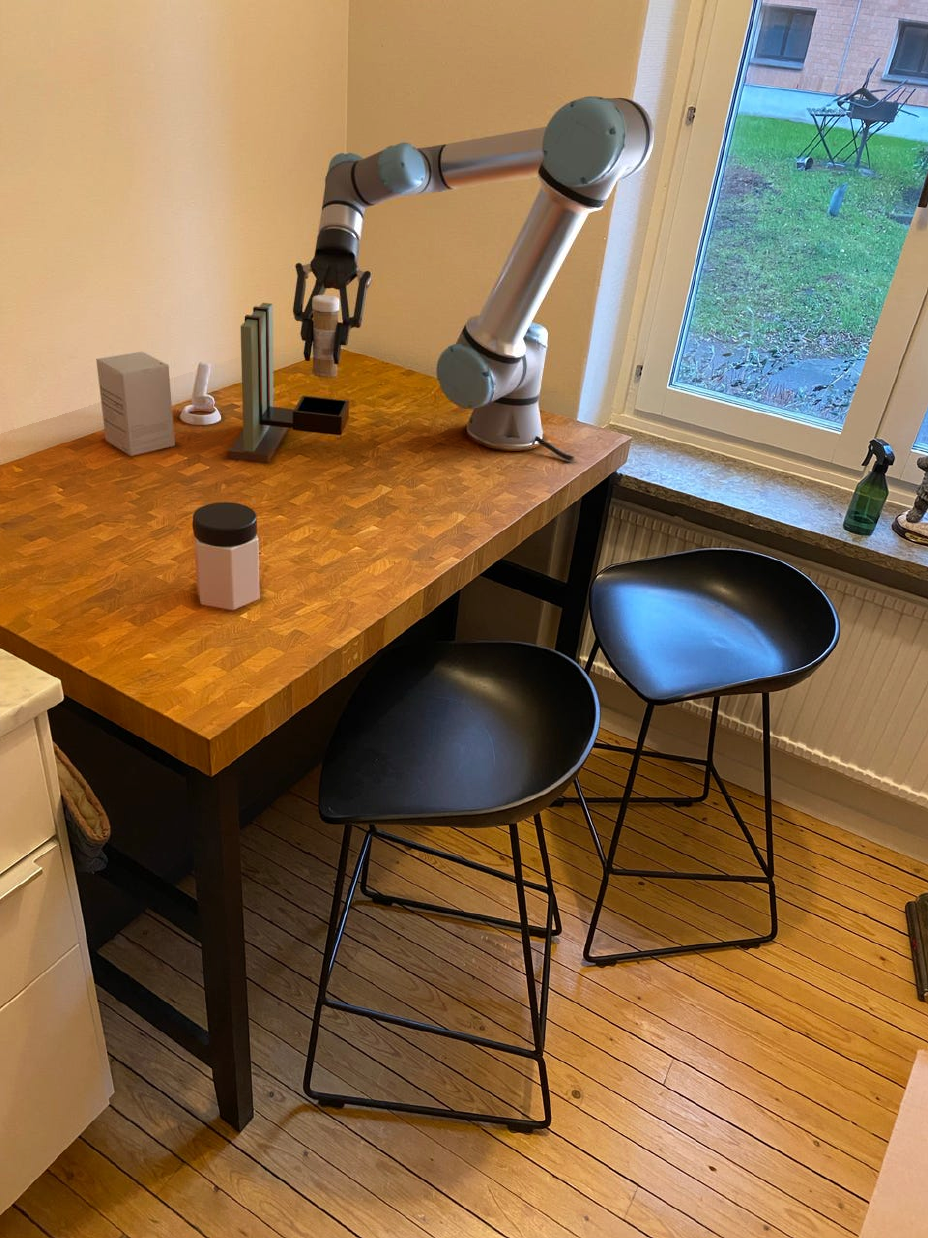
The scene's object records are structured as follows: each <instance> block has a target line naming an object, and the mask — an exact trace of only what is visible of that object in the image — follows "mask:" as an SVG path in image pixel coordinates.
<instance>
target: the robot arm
mask: <svg viewBox="0 0 928 1238" xmlns="http://www.w3.org/2000/svg"><path fill="white" fill-rule="evenodd" d="M654 143H655V131H654V125H653V122H652V119H651V117H650V115H649V113H648V112H647V110H646V109H645V108H644V107H643V106H642V105H641V104H639V103H638V102H636V101H634V100H632V99H629V98H625V97H602V96H596V95H595V96H592V95H591V96H590V95H589V96H583V97H580V98H577V99H574V100H572V101H569V102H568V103H565V104H564V105H563V106H561V107H560V108H559V109H558V110H557V111H556V112H555V113H554V114H553V115H552V116H551V118H550V119H549V121H548V123H547V125H546V126H541V127H536V128H531V129H524V130H519V131H513V132H507V133H502V134H496V135H490V136H485V137H479V138H473V139H466V140H461V141H456V142H451V143H444V144H437V145H432V146H424V147H415V146H413V145H412V144H411V143H409V142H404V141H403V142H399V143H397V144H395V145H389V146H386V148H384V149H382V150H380V151H378V152H376V153H374V154H371V155H369V156H367V157H365V158H363V157H362V156H361V155H358V154H357V153H353V152H348V153H345V152H340V153H337V154H336V155H334V156H333V157H332V158H331V159H330V161H329V163H328V169H327V173H326V175H325V178H324V190H323V198H322V205H321V211H320V216H319V217H320V218H319V222H318V223H319V224H318V230H317V236H316V243H315V250H314V256H313V258H312V259H311V261H310V262H309V263H307V264H302V263H301V262H297V263H296V264H294V265H295V271H296V276H297V277H296V285H295V292H294V298H293V299H294V300H293V305H292V314H293V318H294V321H296V322H301V326H300V339H301V341H302V342H304V346H303V357H304V361H305V362H310V361H311V355H312V350H313V308H312V300H313V297H314V296H317V295H325V294H326V291H327V289H334V290H337V291H339V302H340V308H341V309H340V311H341V320H342V322H339V321H338V324H337V331H336V338H335V345H334V352H333V360H334V364H337V365H340V358H341V351H342V346H344V347H345V346H347V345H348V344H349V339H350V331H351V329H353V328H355V329H359V328H361V327H362V323H363V322H362V321H363V316H364V310H365V303H366V297H367V291H368V289H370V288H369V287H370V286H371V284H372V274H371V271H370V270H366V271H363V270H361V269H359V266H358V258H359V253H360V252H359V251H360V243H361V238H362V231H363V224H364V215H365V210H366V209H368V208H369V207H372V206H375V205H378V204H380V203H382V202H385V201H388V200H391V199H393V198H397V197H399V198H400V197H406V196H415V195H420V194H430V193H443V192H445V191H451V190H456V189H462V188H470V187H479V186H485V185H492V184H499V183H506V182H513V181H520V180H527V179H529V180H530V179H535V178H538V180H539V184H540V188H539V191H538V193H537V194H536V197H535V199H534V201H533V203H532V205H531V207H530V209H529V211H528V213H527V216H526V217H525V219H524V221H523V223H522V225H521V228H520V229H519V231H518V234H517V236H516V238H515V240H514V242H513V244H512V246H511V249H510V251H509V253H508V255H507V256H506V258H505V261H504V263H503V265H502V267H501V269H500V271H499V273H498V276H497V278H496V280H495V282H494V284H493V286H492V288H491V290H490V292H489V294H488V296H487V298H486V299H485V302H484V304H483V306H482V308H481V310H480V313H479V314H477V315H474V316H471V317H469V318H468V319H467V320H466V322H465V323H464V326H463V328H462V329H461V332H460V334H459V336H458V338H457V340H456V342H455V343H454V344H450V345H448V346H447V348H445V349H444V350H443V351H442V352H441V353H440V355H439V357H438V359H437V362H436V369H435V371H436V372H435V373H436V379H437V381H438V383H439V387H440V390H441V391H442V393H443V394H444V396H445V398H447V399H448V401H449V402H451V403H452V404H454V405H455V406H457V407H459V408H461V409H465V410H472V412H471V415H470V417H469V419H468V421H467V424H466V435H467V437H468V438H469V439H470V440H471V441H473V442H474V443H476V444H478V445H480V446H483V447H486V448H490V449H494V450H499V451H506V452H521V451H522V452H523V451H529V450H533V449H535V448H538V447H539V446H543V447H545V448H546V449H548V450H549V451H550V452H552V453H553V454H555V455H556V456H558V457H561V459H564V460H566V461H570V462H574V460H575V456H574V455H570V454H567V453H565V452H564V451H562V450H560V449H558V448H557V447H555V446H554V445H553V444H551V443H549V442H548V441H546V440H545V439H543V436H544V435H543V433H544V430H543V426H542V419H541V413H540V407H539V400H540V394H541V387H542V380H543V374H544V367H545V361H546V357H547V355H546V354H547V349H548V347H549V346H548V337H549V336H548V335H549V334H548V330H547V328H546V327H544V326H542V325H541V324H539V323H536V322H534V321H533V320H534V318H535V316H536V314H537V312H538V310H539V308H540V306H541V304H542V303H543V300H544V299H545V298H546V295H547V293H548V291H549V289H550V288H551V285H552V284H553V281H554V280H555V278H556V276H557V274H558V272H559V270H560V268H561V266H562V265H563V263H564V261H565V259H566V257H567V255H568V253H569V251H570V249H571V248H572V246H573V243H574V242H575V240H576V238H577V237H578V234H579V232H580V231H581V228H582V227H583V225H584V223H585V221H586V219H587V217H588V215H589V214H590V213H593V212H596V211H600V210H602V208H604V206H605V203H606V202H607V200H608V198H609V196H610V194H611V193H612V191H613V189H614V187H615V185H616V183H617V182H618V180H619V181H620V180H623V179H627V178H629V177H631V176H633V175H635V174H636V173H637V172H639V171H640V170H641V169H642V168H643V167H644V165H645V164H646V163H647V161H648V160H649V158H650V156H651V153H652V151H653V148H654V147H653V146H654ZM311 272H312V274H313V276H314V277H315V283H314V286H313V289H312V292H311V293H310V295H309V298H308V301H307V303H306V305H305V308H304V303H305V296H306V295H305V294H306V288H307V280H308V279H309V277H310V273H311ZM356 278H357V284H358V286H357V291H356V298H355V303H354V304H355V305H354V309H353V315H352V316H351V317H350V309H349V300H348V299H349V298H348V288H347V287H348V286H349V284H351V283H352V282H353V281H354V280H355V279H356ZM303 310H304V311H303ZM532 321H533V322H532Z"/></svg>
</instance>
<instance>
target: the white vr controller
mask: <svg viewBox="0 0 928 1238" xmlns="http://www.w3.org/2000/svg"><path fill="white" fill-rule="evenodd" d="M211 369H212V367H211V364H210V363H207V362H203V361H202V362H199V363H198V366H197V370H196V373H195V374H196V375H195V380H194V385H193V390H192V393H191V399H190V403H191V404H188V405H186V406H184V407H183V408H182V410H181V413H180V416H179V419H180V420H181V421H182V422H184V423H186V424H190V425H196V426H206V425H213V424H216V423H218V422H220V421H221V420H222V415H221V413H220V411H219V410H218V408H217V407H216V406H215V398H214V396H213V395H210V394H208V393H207V389H208V382H209V378H210V375H211ZM193 412H206V413H207V414H193Z"/></svg>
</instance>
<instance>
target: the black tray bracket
mask: <svg viewBox="0 0 928 1238" xmlns="http://www.w3.org/2000/svg"><path fill="white" fill-rule="evenodd" d="M256 310H257V311H266V373H267V409H266V410H265V412H264V413H263V415H262V356H261V316H252V314H253V313H254V312H255V311H256ZM252 314H245V316H244V322H245V321H246V320H247V319H250V320H258V373H259V425H268V426H277V427H286V428H288V429H292V431H299V432H306V433H315V434H324V435H331V436H340V437H341V436H342V435H343V432H344V430H345V428H346V426H347V423H348V421H349V413H350V401H349V400H345V399H344V400H343V399H336V398H328V397H319V396H309V395H301V397H300V399H299V401H298V402H297V404H296V405H295V407H294V408H288V407H287V408H286V407H278V406H274V407H270V366H269V308H266V307H259V306H257V305H255V306H253V307H252Z"/></svg>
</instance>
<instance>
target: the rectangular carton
mask: <svg viewBox="0 0 928 1238" xmlns="http://www.w3.org/2000/svg"><path fill="white" fill-rule="evenodd" d="M95 362H96V369H97V370H96V371H97V377H98V387H99V394H100V402H101V403H100V404H101V412H102V420H103V429H104V437H105V442H108V443H109V444H110V445H113V446H114V447H115V448H116V449H119V451H120V450H121V451H122V452H124V453H125V454H127V456H130V457H133V456H137V455H141V454H146V453H150V452H155V451H158V450H162V449H167V448H170V447H171V448H172V447H175V446H176V441H175V440H176V439H175V429H174V427H175V426H174V417H173V416H174V415H173V414H174V413H173V405H172V404H173V403H172V402H173V401H172V391H171V382H170V381H171V379H170V366H169V364H168V363H165V362H163V361H161V360H159V359H157V358H155V357H154V356H152V355H150V354H149V353H147V352H145V351H138V352H131V353H125V354H119V355H112V356H107V357H100V358H96V361H95Z"/></svg>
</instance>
